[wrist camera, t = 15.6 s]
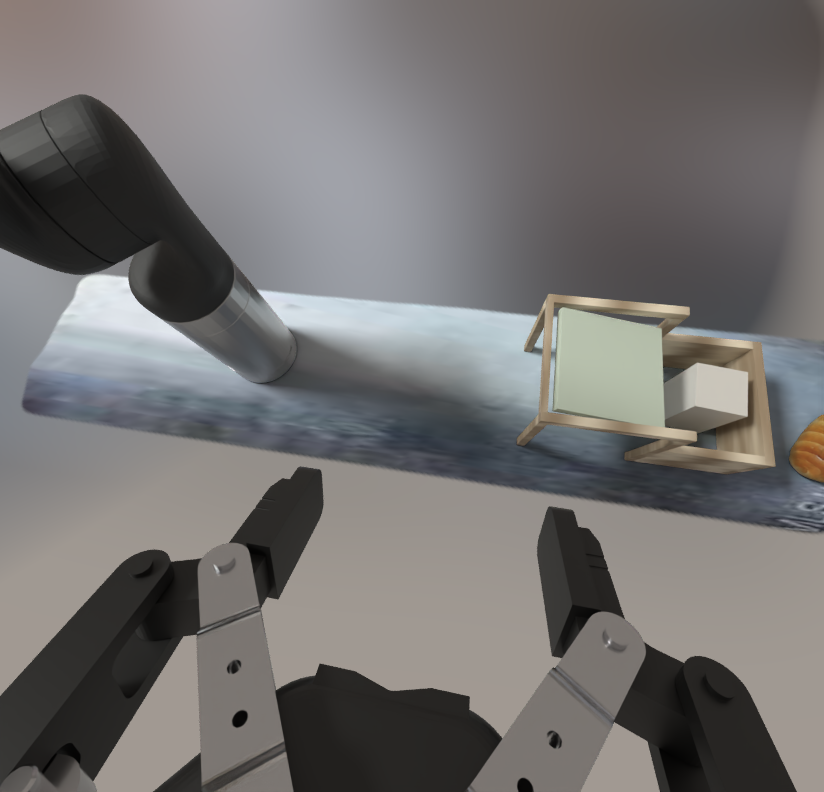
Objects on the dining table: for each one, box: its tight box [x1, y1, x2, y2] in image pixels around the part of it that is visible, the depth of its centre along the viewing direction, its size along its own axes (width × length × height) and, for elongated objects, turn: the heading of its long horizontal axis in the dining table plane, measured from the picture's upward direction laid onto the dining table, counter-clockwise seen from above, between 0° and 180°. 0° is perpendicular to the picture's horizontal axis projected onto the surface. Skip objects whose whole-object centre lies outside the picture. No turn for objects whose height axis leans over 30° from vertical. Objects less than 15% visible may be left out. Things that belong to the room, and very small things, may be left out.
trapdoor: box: [553, 307, 665, 427], centre depth 39 cm, size 11×11×1 cm
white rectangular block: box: [663, 363, 748, 433], centre depth 44 cm, size 5×5×8 cm
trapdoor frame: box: [517, 294, 776, 474], centre depth 43 cm, size 24×14×12 cm, turn 81°
